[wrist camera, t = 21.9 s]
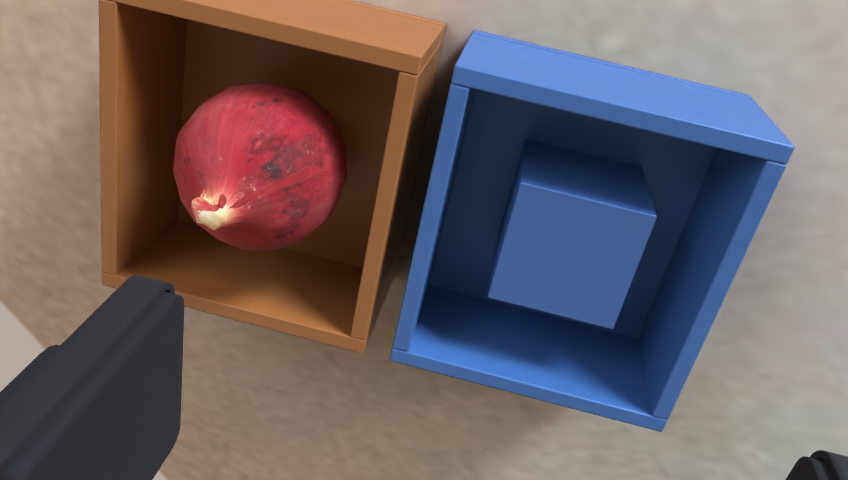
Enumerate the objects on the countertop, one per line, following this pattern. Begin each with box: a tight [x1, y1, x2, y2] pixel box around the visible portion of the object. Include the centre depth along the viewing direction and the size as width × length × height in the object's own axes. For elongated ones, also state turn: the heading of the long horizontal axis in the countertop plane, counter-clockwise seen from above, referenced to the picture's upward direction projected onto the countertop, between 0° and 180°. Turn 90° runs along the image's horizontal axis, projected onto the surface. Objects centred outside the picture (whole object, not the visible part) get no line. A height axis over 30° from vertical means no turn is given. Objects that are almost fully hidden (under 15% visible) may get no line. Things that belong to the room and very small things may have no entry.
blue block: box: [488, 139, 657, 329], centre depth 27 cm, size 4×4×4 cm
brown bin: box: [99, 0, 446, 353], centre depth 27 cm, size 11×10×6 cm
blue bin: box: [390, 30, 794, 432], centre depth 27 cm, size 11×10×6 cm
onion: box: [173, 83, 347, 250], centre depth 25 cm, size 6×6×8 cm
